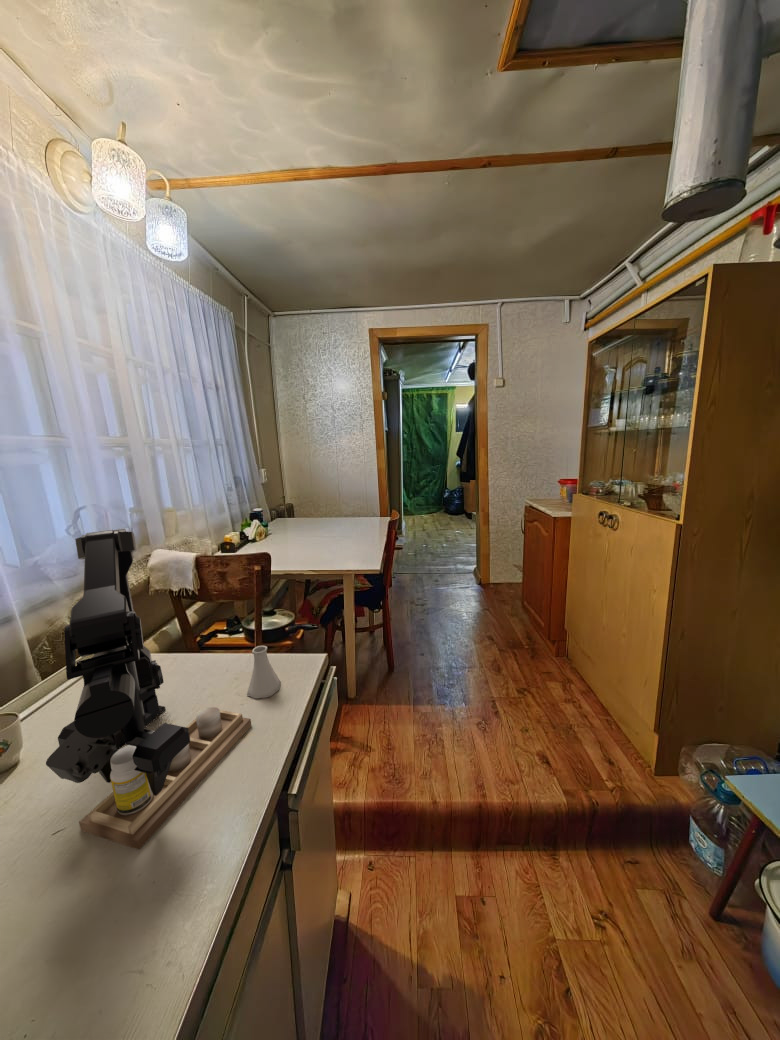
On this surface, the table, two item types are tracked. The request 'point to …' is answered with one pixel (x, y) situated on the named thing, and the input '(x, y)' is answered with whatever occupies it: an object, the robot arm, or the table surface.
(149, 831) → the socket tray
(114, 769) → the supplement bottle
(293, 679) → the table surface
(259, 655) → the flask
